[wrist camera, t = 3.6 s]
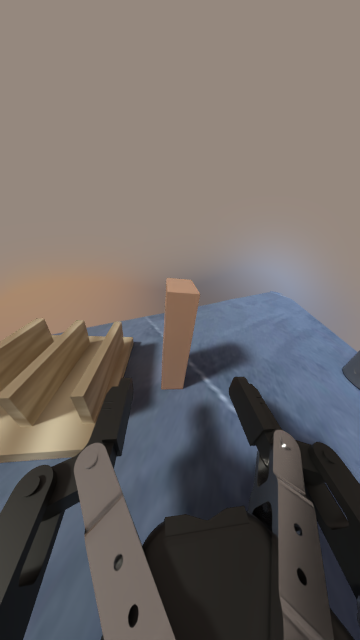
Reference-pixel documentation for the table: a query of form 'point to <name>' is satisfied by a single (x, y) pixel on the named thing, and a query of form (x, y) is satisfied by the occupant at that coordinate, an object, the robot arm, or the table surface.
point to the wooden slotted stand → (55, 388)
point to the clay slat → (178, 330)
